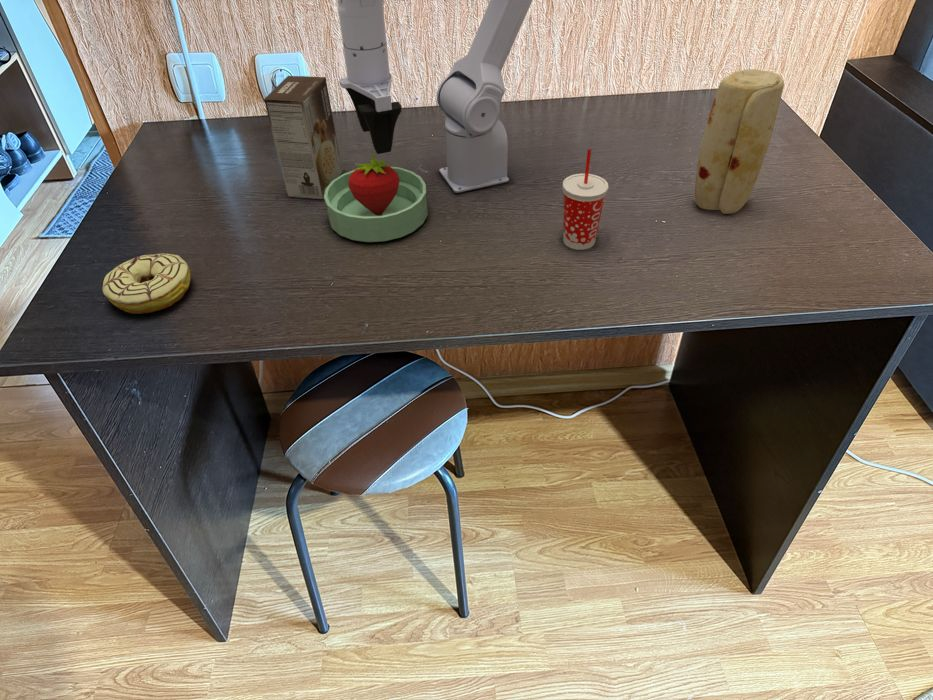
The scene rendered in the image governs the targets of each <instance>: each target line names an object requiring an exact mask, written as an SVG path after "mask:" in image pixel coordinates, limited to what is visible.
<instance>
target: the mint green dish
mask: <svg viewBox="0 0 933 700" xmlns="http://www.w3.org/2000/svg"><path fill="white" fill-rule="evenodd" d="M389 167H391V168H392V169H394V170H395V171H396V172H397V174H398V177H399V180H400V182H399V187H398V192H397V194H396V195H395V197H394V199H393V200H392V202H391V203H390V205H389V206H388V207H387V208H386V209H385V211H384V212H383V213H382V214H381V215H375V214H373V213H372V212H371V211H370V210H368V209H367V208H365V207H364V206H363V205H362V204H361V203H360V202H359V201H357V200H356V199H355V198H354V196H353V194H352V192H351V191H350V189H349V187H348V184H349V177H350V175H351V174H352V173H353V172H354V171H355V169H352V170H350V171H347V172H345V173H342V174H341V175H340V176H339V177H338V178H336V179H334V180H333V181H332V182H331V183H330V184H329V185H328V187H327V188H326V189H325V194H324V199H323V200H324V206H325V210H326V215H327V221H328V223H329V225H330V228H331V230H333V231H334V232H336V234H338V235H339V236H340V237H344V238H346V239H349V240H351V241H357V242H364V243H378V242H388V241H392V240H395V239H399V238H402V237H405V236H407V235H410V234H412V233H413V232H415V231H416V230H418V229H419V228H420V227H421V226H422V225H423V224H424V223H425V221H426V219H427V217H428V215H429V211H428V209H429V208H428V207H429V206H428V193H427V184H426V182H425V181H424V179H423V178H422V177H421V175H419V174H417V173H415V172H414V171H412V170H410V169H406V168H403V167H399V166H389Z"/></svg>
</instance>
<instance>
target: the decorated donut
mask: <svg viewBox="0 0 933 700" xmlns="http://www.w3.org/2000/svg"><path fill="white" fill-rule="evenodd" d="M191 273H192V272H191V269H190V266H189V265H188V263H187V262H186V261H185V260H184V259H183V258H182V257H181V256H180V255H179V254H173V253H172V254H171V253H153V254H143V255H140V256H139V255H138V256H135V257H133V258H131V259H129V260H126V261H124V262H122V263H120V264H119V265H117V266H115V267H114V268H113V269H112V270H111V271H109V272H108V273H107V274H106V275H105V276H104V279H103V283H102V293H103V295H104V296H105V298H107V300H108V301H109V302H110V303H111V304H112V305H113V306H114V307H116V308H117V309H120V311H121V310H122V311H123V312H125V313H129V314H136V315H137V314H138V315H143V314H149V313H154V312H159V311H161V310H163V309H167V308H170V307H171V306H173V305H174V304H175V303H177V302H179V301H180V300H181V299H182V298H183V297H184V295H185V293H186V292H187V291H188V290H189V287H190V284H191Z"/></svg>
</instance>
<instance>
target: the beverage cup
mask: <svg viewBox="0 0 933 700" xmlns="http://www.w3.org/2000/svg"><path fill="white" fill-rule="evenodd" d="M591 156H592V148H587V153H586V159H585V160H586V161H585V170H584V173H575V174H571V175H569V176H567V177H566V178H564V180H563V181H562V193H563V226H562V227H563V228H562V229H563V233H562V242H563V244H564V245H565V246H566V247H568V248H570V249H573V250H581V251H582V250H588V249H591V248H592V247H593V246H594V245H595V244H596V241H597V236H598V230H599V226H600V221H601V216H602V212H603V208H604V207H603V206H604V203H605V197H606V196H607V194H608V191H609V183H608V182H607V180H606V179H605V178H603V177H601V176H599V175H597V174H592V173H590V166H591V165H590V164H591V158H592V157H591Z"/></svg>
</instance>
